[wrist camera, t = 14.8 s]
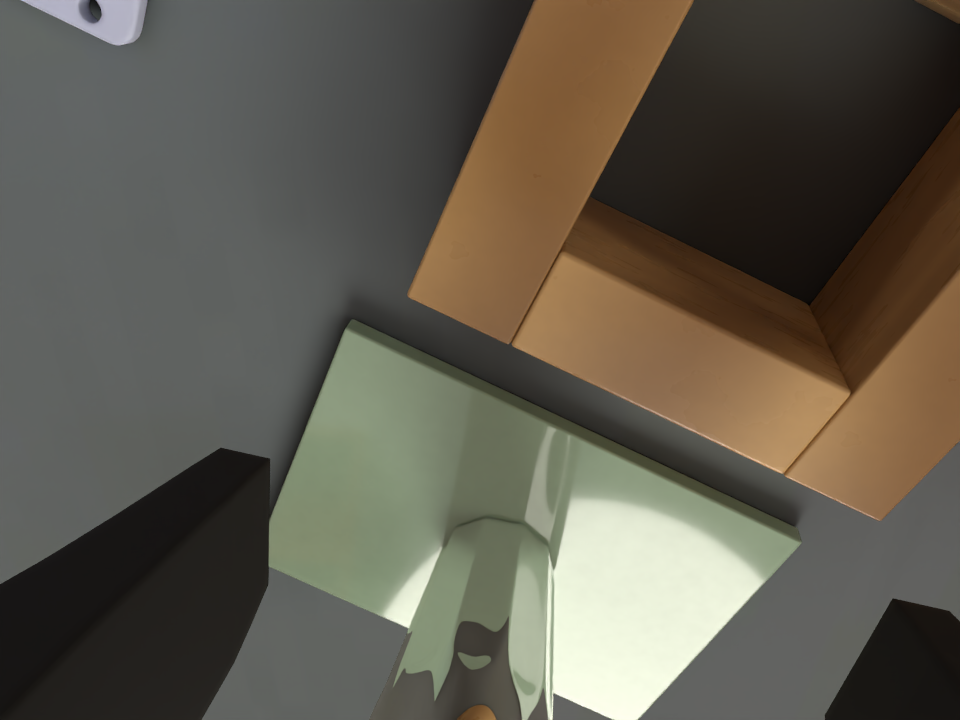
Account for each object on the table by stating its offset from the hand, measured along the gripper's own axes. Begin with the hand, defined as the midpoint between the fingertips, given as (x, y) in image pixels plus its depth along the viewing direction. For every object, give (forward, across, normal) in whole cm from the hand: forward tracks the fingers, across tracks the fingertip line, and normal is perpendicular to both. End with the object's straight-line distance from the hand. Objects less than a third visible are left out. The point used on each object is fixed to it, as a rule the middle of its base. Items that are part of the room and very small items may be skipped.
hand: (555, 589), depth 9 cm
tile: (+10, 0, +9) cm, 13 cm away
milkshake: (+10, 0, +9) cm, 13 cm away
